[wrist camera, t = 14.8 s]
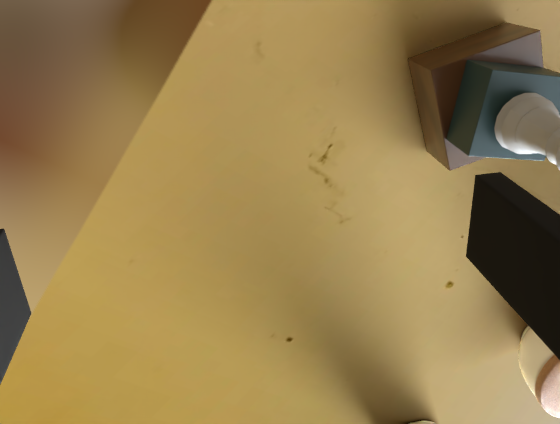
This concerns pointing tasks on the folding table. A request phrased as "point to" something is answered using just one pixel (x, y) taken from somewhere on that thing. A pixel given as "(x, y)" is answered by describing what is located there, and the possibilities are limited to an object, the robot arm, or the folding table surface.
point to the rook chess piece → (530, 126)
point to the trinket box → (540, 371)
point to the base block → (448, 75)
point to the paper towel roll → (423, 422)
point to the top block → (495, 104)
